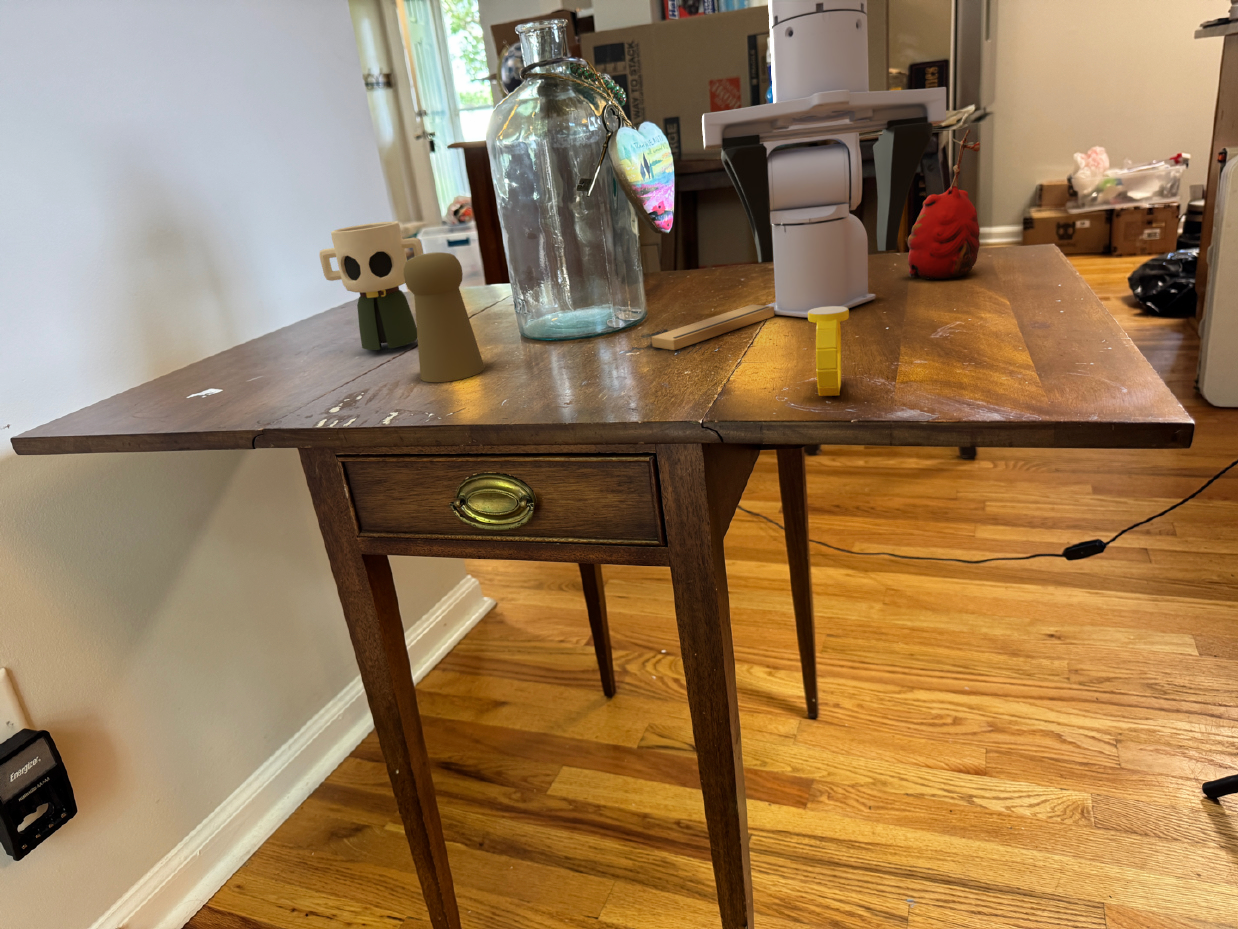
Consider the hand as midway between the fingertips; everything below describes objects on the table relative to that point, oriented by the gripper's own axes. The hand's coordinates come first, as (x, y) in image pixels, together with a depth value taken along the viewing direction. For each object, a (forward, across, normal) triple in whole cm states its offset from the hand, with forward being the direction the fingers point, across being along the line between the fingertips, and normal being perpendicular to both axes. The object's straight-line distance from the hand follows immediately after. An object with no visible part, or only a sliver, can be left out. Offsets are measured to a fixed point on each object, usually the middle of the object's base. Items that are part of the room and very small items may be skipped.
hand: (826, 256), depth 54 cm
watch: (+10, +1, +5) cm, 11 cm away
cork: (+8, -31, +22) cm, 39 cm away
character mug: (+6, -41, +35) cm, 55 cm away
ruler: (+6, -6, +27) cm, 28 cm away
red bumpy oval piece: (+4, +20, +41) cm, 46 cm away
